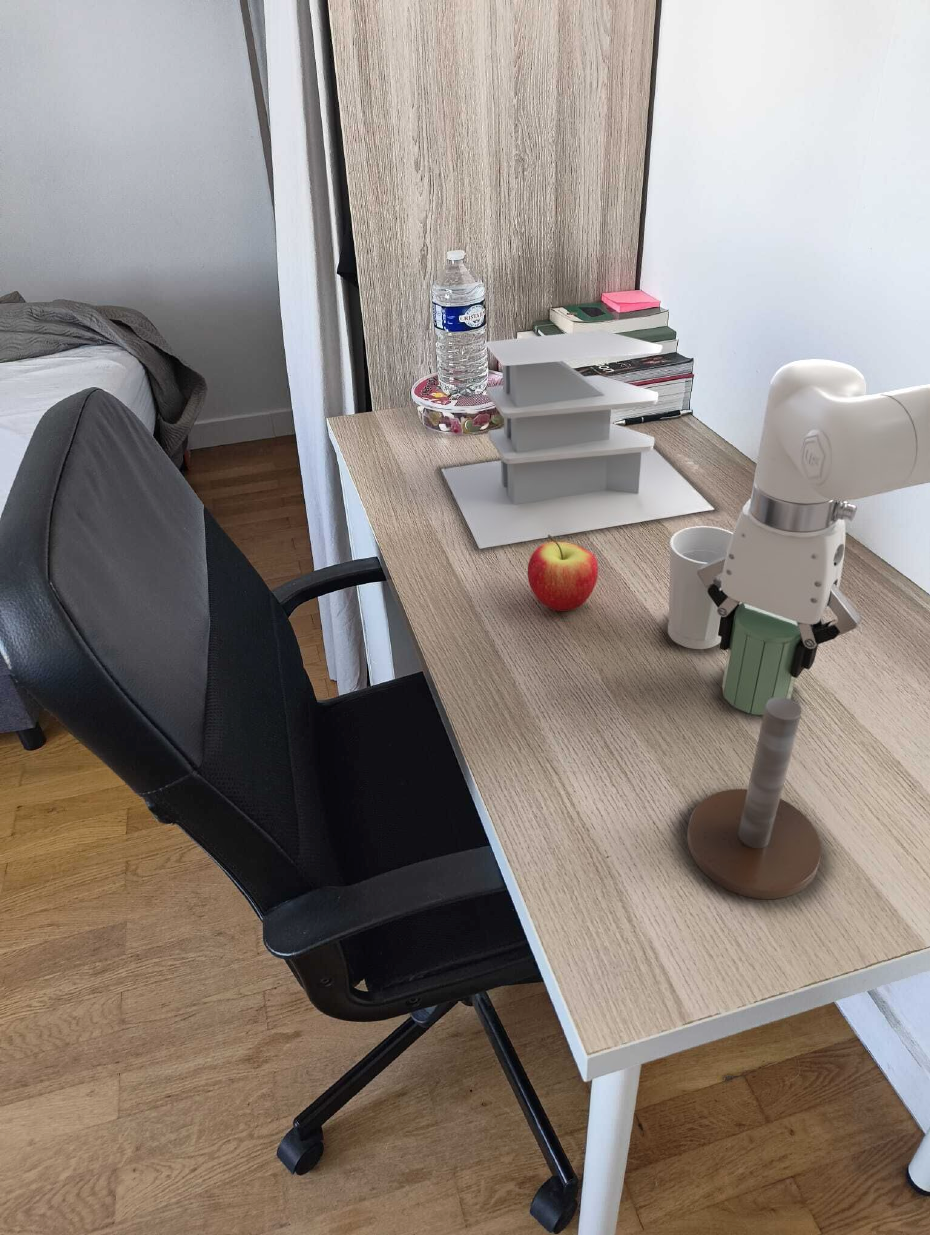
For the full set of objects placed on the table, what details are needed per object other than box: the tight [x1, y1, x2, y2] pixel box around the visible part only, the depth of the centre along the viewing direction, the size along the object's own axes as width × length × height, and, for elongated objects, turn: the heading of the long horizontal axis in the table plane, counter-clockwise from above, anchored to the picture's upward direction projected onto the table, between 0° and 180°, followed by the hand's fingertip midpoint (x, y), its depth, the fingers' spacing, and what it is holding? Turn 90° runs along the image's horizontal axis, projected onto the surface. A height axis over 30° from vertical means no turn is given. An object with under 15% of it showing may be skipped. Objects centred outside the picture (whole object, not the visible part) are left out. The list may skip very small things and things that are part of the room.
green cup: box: [721, 602, 802, 716], centre depth 86 cm, size 7×7×10 cm
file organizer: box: [441, 329, 715, 550], centre depth 122 cm, size 26×35×22 cm
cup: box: [667, 525, 733, 650], centre depth 95 cm, size 8×8×12 cm
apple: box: [527, 535, 599, 612], centre depth 101 cm, size 8×8×10 cm
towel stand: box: [686, 697, 822, 900], centre depth 69 cm, size 11×11×16 cm
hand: (763, 655), depth 86 cm, fingers closed on green cup, 6 cm apart
